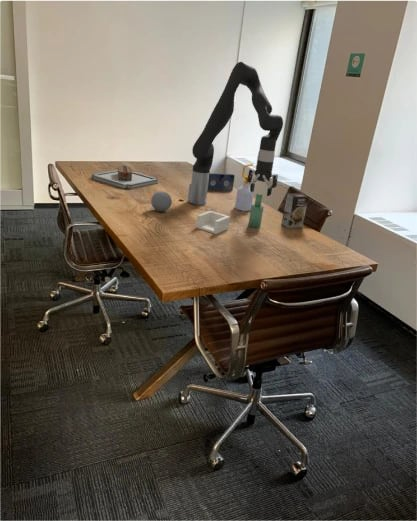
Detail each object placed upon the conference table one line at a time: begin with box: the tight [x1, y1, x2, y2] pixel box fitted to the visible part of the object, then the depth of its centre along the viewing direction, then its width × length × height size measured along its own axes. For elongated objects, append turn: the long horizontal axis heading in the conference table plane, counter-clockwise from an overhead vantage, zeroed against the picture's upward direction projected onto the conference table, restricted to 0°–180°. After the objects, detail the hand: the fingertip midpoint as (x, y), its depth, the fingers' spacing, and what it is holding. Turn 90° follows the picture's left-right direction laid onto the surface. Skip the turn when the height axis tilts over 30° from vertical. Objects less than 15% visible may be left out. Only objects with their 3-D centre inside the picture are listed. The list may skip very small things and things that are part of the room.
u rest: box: [195, 210, 231, 235], centre depth 206 cm, size 11×11×6 cm
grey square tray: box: [91, 165, 159, 190], centre depth 267 cm, size 30×30×8 cm
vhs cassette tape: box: [207, 172, 236, 192], centre depth 274 cm, size 18×3×10 cm, turn 108°
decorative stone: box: [150, 190, 173, 213], centre depth 220 cm, size 10×10×10 cm
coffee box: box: [281, 193, 309, 229], centre depth 223 cm, size 9×6×16 cm
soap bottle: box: [234, 163, 255, 212], centre depth 239 cm, size 9×9×25 cm
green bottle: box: [247, 192, 265, 229], centre depth 215 cm, size 6×6×16 cm
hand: (260, 193), depth 212 cm, fingers open, 8 cm apart
